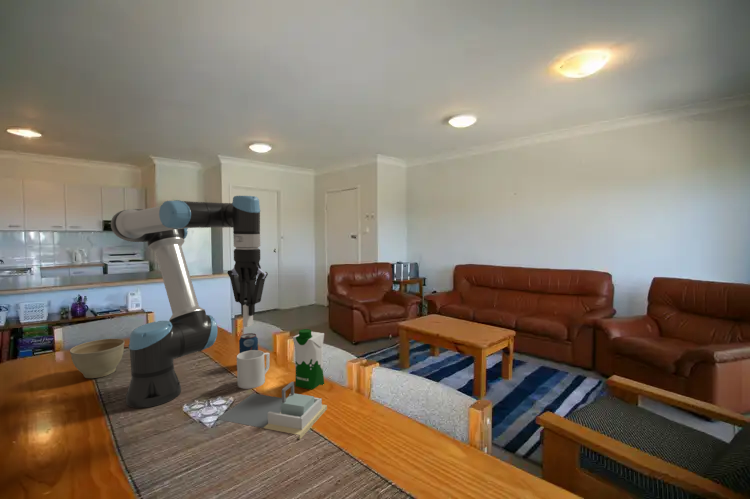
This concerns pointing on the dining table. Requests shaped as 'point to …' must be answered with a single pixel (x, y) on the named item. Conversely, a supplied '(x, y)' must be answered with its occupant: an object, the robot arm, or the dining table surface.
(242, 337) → the soda can
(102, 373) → the planter bowl
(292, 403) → the grey boxy piece
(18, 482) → the dining table surface
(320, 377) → the milk carton
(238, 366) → the mug
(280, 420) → the dock
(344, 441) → the dining table surface
